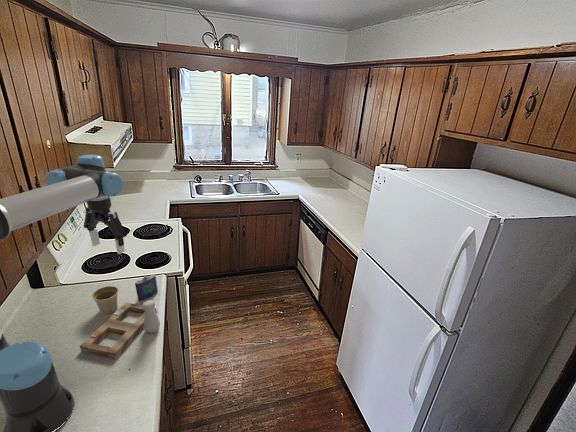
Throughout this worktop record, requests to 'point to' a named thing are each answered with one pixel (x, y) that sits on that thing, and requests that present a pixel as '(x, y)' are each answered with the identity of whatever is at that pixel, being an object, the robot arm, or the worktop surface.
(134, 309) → the socket board
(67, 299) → the worktop surface
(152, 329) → the salt shaker
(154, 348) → the worktop surface
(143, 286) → the flask
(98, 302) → the flower pot
